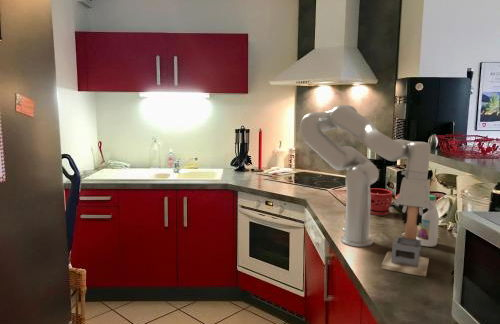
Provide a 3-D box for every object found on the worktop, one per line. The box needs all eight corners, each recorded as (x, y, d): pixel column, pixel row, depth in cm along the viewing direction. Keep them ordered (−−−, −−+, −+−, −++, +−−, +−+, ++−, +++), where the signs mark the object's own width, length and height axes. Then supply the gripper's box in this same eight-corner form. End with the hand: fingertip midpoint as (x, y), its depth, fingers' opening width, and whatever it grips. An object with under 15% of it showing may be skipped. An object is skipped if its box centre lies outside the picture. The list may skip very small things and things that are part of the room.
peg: (401, 239, 153) (405, 198, 150) (410, 238, 154) (414, 197, 151) (408, 243, 149) (413, 201, 146) (418, 242, 150) (422, 200, 147)
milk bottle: (431, 240, 166) (434, 193, 163) (440, 247, 158) (444, 197, 155) (412, 240, 166) (416, 193, 163) (421, 247, 158) (424, 197, 155)
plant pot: (359, 211, 210) (360, 189, 209) (378, 209, 216) (379, 187, 214) (376, 218, 199) (378, 194, 197) (396, 215, 204) (398, 192, 202)
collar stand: (381, 268, 137) (382, 244, 136) (387, 255, 149) (388, 233, 148) (425, 276, 131) (427, 251, 129) (428, 262, 143) (430, 239, 142)
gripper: (391, 174, 148) (386, 222, 151) (441, 179, 140) (435, 230, 143) (394, 171, 154) (389, 217, 157) (441, 176, 147) (436, 224, 150)
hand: (411, 222), depth 150 cm, fingers closed on peg, 4 cm apart
